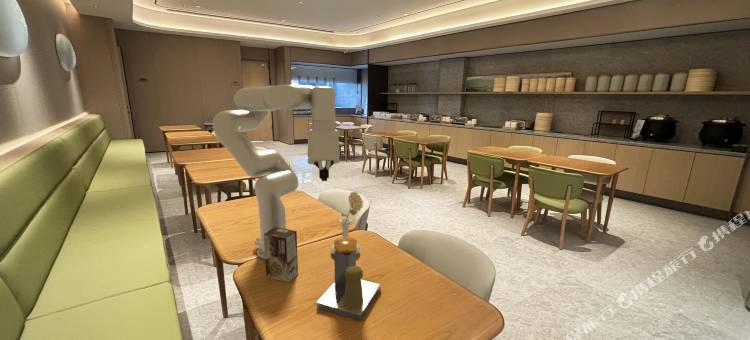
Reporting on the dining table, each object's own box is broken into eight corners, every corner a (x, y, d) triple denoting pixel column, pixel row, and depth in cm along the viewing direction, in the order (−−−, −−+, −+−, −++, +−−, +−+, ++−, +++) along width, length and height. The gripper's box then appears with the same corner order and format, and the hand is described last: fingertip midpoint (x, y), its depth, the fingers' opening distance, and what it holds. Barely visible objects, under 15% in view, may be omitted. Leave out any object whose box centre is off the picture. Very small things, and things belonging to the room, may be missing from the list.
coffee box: (298, 273, 111) (297, 230, 107) (288, 283, 105) (286, 238, 101) (276, 268, 114) (274, 226, 110) (265, 277, 108) (262, 233, 104)
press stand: (316, 307, 94) (316, 265, 90) (341, 279, 108) (342, 242, 105) (360, 321, 89) (361, 276, 85) (380, 289, 103) (381, 250, 100)
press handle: (330, 282, 100) (330, 244, 97) (340, 271, 106) (340, 235, 103) (350, 287, 98) (350, 249, 94) (359, 276, 104) (360, 239, 101)
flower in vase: (341, 263, 119) (341, 199, 113) (325, 251, 127) (325, 191, 121) (368, 253, 127) (370, 193, 121) (352, 242, 135) (353, 186, 129)
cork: (347, 311, 89) (348, 276, 87) (340, 298, 95) (340, 265, 92) (367, 305, 92) (368, 271, 89) (358, 293, 97) (359, 261, 95)
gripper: (343, 124, 109) (343, 176, 113) (298, 124, 104) (300, 178, 108) (348, 126, 102) (348, 181, 106) (301, 127, 97) (302, 184, 101)
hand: (324, 180), depth 107 cm, fingers closed
